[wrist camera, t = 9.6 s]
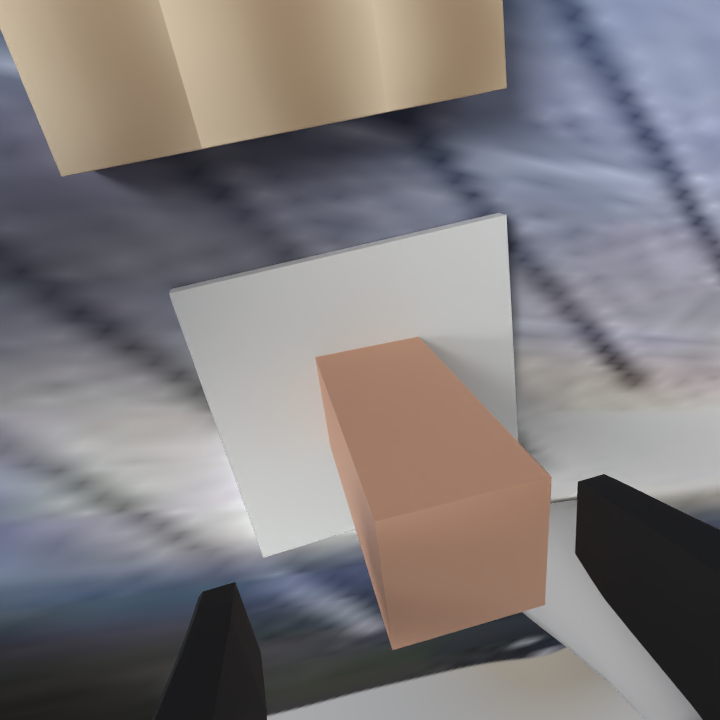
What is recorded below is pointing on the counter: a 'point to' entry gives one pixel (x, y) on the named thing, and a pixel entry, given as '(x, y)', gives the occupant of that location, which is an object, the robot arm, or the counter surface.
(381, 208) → the counter surface
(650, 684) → the flask
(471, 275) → the mat
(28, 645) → the counter surface
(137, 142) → the pocket block
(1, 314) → the counter surface
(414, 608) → the peg
